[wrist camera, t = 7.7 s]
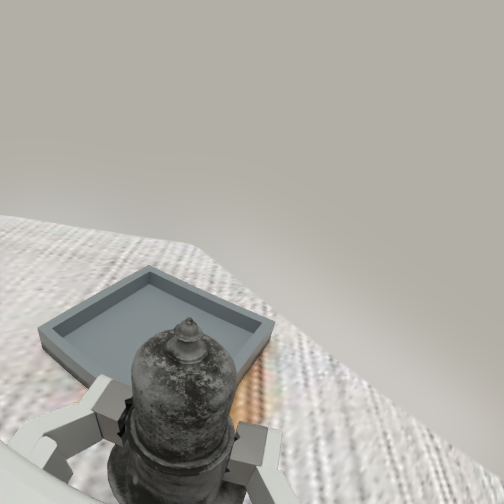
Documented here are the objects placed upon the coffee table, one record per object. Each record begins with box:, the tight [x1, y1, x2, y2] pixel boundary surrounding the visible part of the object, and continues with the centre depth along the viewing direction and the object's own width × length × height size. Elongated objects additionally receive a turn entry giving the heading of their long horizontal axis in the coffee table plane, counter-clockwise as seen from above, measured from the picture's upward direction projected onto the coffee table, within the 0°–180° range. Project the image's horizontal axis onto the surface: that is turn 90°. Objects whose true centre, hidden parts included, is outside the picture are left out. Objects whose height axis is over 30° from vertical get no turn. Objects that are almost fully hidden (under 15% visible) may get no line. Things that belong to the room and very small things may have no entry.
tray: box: [38, 265, 275, 389], centre depth 28 cm, size 16×16×2 cm
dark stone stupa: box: [107, 317, 247, 504], centre depth 10 cm, size 6×6×12 cm
